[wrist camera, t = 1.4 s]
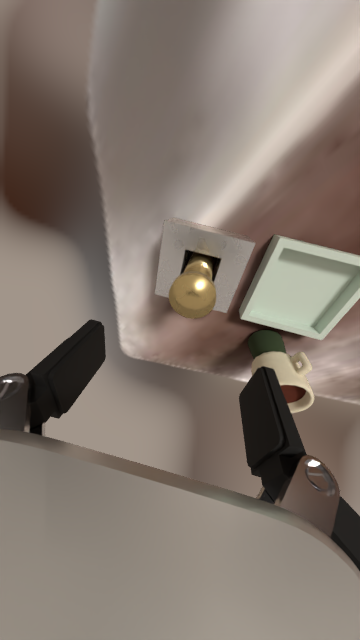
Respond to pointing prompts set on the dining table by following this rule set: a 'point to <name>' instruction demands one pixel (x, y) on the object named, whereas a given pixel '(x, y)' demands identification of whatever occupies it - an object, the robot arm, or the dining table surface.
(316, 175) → the dining table surface
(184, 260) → the white square-hole block
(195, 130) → the dining table surface
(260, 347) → the character mug
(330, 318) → the tray
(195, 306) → the pin
